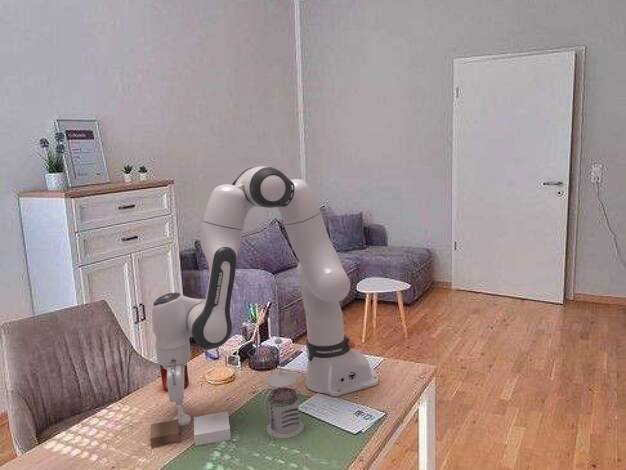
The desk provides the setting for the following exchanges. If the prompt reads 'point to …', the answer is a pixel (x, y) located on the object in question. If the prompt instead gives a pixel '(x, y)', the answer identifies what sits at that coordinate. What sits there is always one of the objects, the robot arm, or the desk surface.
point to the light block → (211, 428)
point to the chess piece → (182, 416)
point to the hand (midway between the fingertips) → (179, 400)
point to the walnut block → (164, 433)
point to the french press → (288, 421)
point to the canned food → (164, 377)
